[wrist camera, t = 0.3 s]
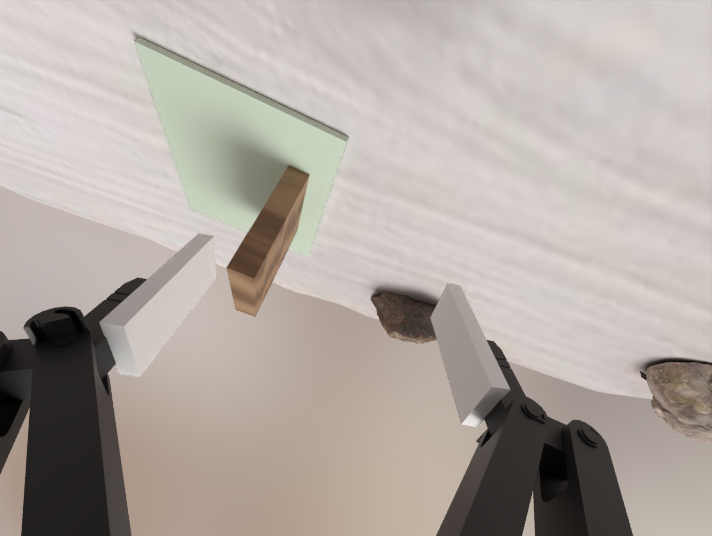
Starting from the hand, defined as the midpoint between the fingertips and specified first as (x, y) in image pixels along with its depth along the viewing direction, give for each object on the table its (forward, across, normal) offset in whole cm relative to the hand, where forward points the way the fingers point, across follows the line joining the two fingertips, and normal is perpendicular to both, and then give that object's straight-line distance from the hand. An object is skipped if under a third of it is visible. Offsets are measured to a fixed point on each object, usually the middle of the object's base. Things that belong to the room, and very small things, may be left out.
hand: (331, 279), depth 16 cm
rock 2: (+19, +63, -18) cm, 68 cm away
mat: (+23, -12, -4) cm, 27 cm away
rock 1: (+29, +16, -23) cm, 40 cm away
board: (+22, -6, -5) cm, 24 cm away
